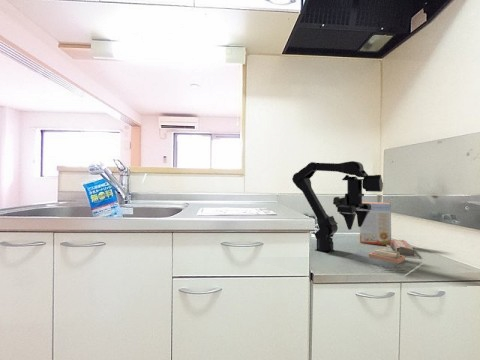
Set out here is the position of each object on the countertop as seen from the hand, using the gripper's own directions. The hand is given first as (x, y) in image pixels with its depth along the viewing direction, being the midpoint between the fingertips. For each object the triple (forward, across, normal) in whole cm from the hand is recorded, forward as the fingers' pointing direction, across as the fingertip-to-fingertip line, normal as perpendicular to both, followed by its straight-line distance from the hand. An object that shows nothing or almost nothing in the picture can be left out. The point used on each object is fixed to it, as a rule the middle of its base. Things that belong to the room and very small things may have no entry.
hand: (354, 228), depth 112 cm
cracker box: (+12, -31, -4) cm, 34 cm away
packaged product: (+13, -21, +11) cm, 27 cm away
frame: (+12, -6, +10) cm, 17 cm away
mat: (+12, -2, +7) cm, 14 cm away
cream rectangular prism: (+12, -6, +10) cm, 17 cm away
